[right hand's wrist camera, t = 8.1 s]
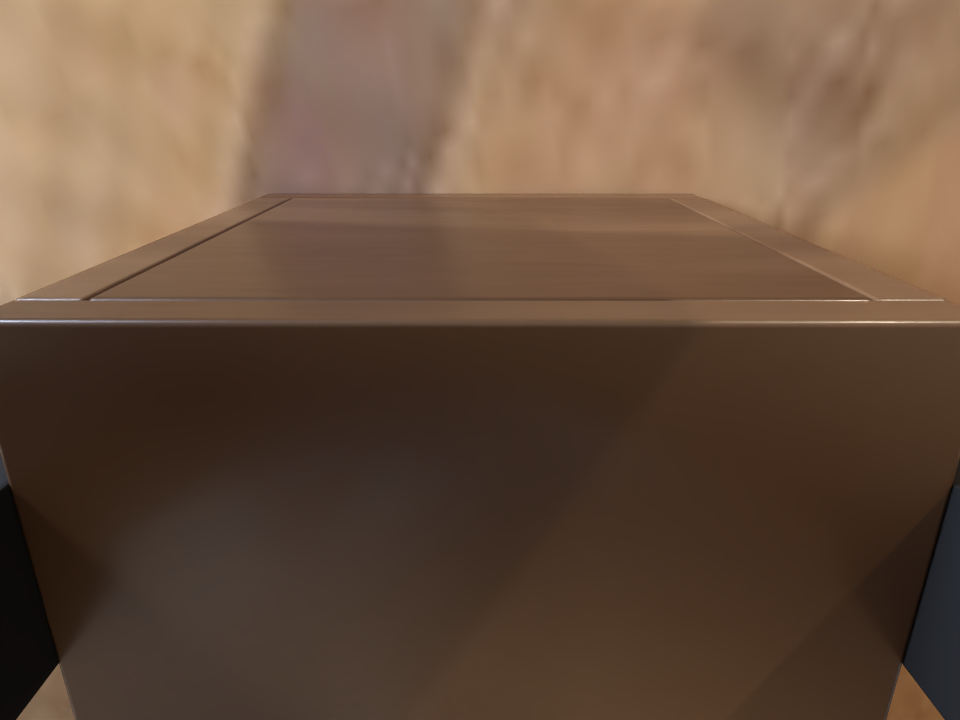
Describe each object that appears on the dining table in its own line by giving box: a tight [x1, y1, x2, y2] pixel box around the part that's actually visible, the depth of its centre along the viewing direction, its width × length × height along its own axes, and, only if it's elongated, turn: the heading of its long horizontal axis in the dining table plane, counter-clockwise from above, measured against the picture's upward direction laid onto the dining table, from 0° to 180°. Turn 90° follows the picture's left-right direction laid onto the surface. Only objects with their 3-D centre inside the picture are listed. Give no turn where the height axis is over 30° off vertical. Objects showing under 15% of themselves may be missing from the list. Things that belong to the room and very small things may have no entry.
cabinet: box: [0, 194, 960, 720], centre depth 16 cm, size 22×11×11 cm, turn 0°
